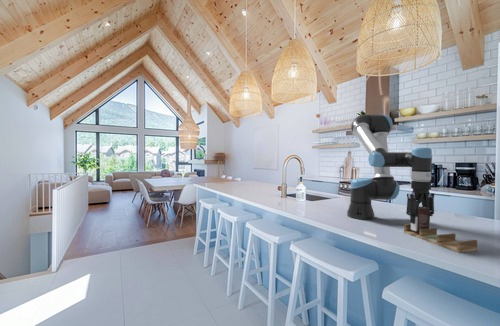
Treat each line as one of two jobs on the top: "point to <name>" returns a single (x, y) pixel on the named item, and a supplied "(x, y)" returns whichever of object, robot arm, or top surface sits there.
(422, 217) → the box
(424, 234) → the wooden stepped piece
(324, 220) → the top surface
